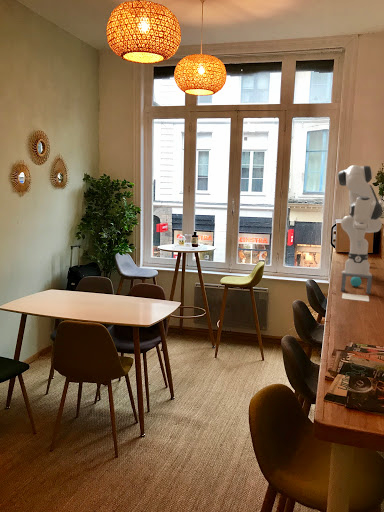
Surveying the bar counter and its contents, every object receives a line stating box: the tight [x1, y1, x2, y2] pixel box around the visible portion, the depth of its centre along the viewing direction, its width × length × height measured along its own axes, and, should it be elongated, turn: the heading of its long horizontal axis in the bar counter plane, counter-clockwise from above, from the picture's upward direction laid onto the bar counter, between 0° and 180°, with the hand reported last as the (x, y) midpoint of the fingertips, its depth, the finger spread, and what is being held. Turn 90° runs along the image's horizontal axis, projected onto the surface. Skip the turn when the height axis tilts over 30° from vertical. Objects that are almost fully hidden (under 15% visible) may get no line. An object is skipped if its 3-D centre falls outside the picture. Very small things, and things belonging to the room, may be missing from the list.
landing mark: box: [341, 292, 370, 303], centre depth 236 cm, size 13×13×1 cm
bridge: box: [340, 273, 373, 295], centre depth 249 cm, size 3×15×10 cm, turn 71°
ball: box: [350, 277, 363, 287], centre depth 264 cm, size 6×6×6 cm
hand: (358, 248), depth 271 cm, fingers closed
